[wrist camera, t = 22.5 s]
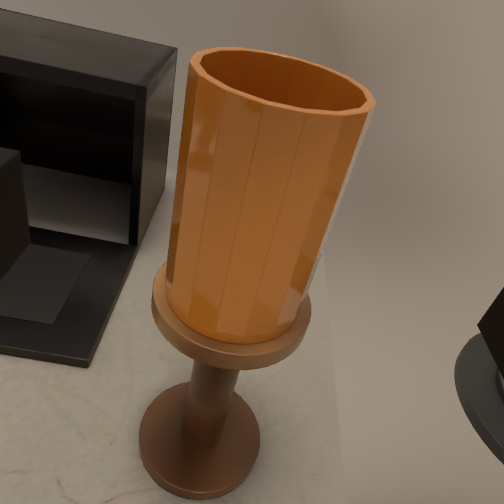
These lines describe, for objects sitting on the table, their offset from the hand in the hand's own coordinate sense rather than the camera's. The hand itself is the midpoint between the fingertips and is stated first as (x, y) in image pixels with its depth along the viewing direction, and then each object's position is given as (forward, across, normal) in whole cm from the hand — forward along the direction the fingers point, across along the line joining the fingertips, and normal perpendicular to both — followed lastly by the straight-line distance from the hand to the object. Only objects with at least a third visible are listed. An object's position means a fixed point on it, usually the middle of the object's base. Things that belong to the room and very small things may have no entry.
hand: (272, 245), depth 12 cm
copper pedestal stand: (+9, 0, -25) cm, 27 cm away
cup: (+9, 0, -10) cm, 14 cm away
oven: (+29, -23, -25) cm, 45 cm away
